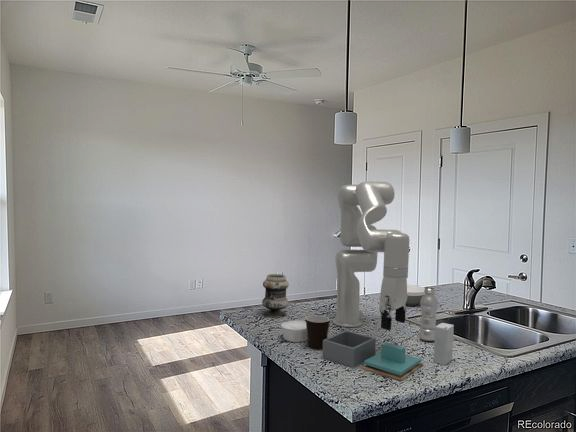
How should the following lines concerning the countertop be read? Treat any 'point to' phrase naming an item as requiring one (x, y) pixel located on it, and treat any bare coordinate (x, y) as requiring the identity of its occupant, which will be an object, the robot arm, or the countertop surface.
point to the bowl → (414, 294)
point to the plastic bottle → (428, 315)
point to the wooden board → (390, 375)
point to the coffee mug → (317, 331)
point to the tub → (349, 348)
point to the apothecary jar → (275, 295)
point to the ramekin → (294, 331)
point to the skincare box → (443, 343)
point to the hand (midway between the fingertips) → (393, 325)
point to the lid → (392, 360)
